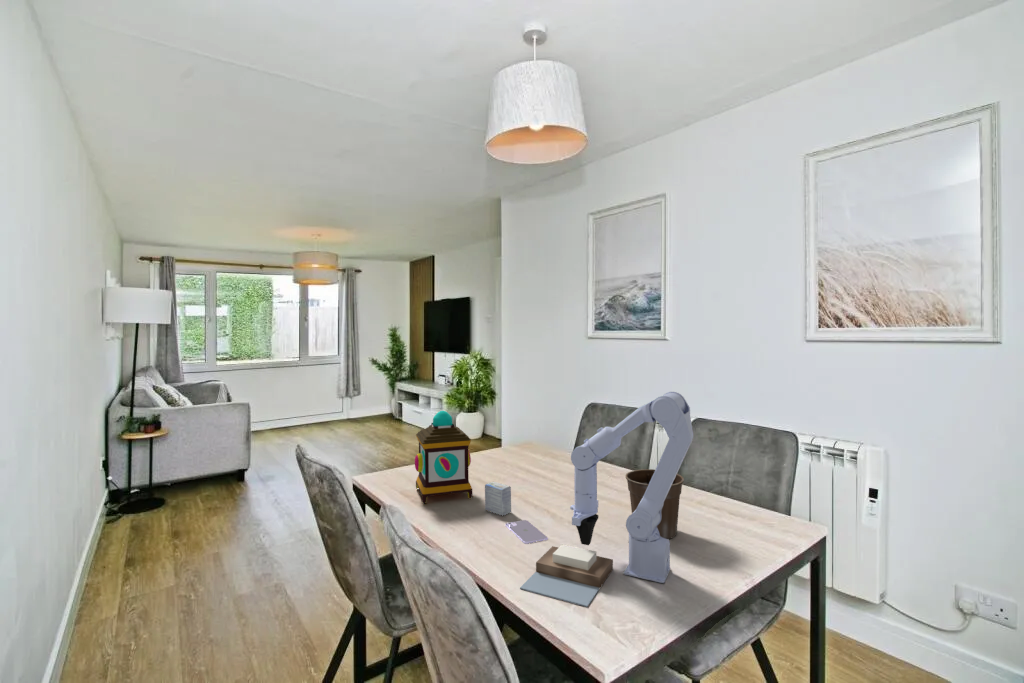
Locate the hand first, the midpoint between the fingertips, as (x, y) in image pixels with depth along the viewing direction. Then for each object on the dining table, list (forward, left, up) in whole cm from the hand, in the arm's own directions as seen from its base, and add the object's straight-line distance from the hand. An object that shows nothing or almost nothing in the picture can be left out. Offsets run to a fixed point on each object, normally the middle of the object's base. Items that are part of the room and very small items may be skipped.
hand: (585, 543), depth 128 cm
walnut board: (0, +8, -4) cm, 9 cm away
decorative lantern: (+62, -24, -4) cm, 66 cm away
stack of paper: (+36, -18, -4) cm, 40 cm away
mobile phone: (+21, -7, -4) cm, 23 cm away
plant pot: (-12, -25, -4) cm, 28 cm away
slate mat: (0, +17, -4) cm, 18 cm away
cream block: (0, +8, -1) cm, 8 cm away
